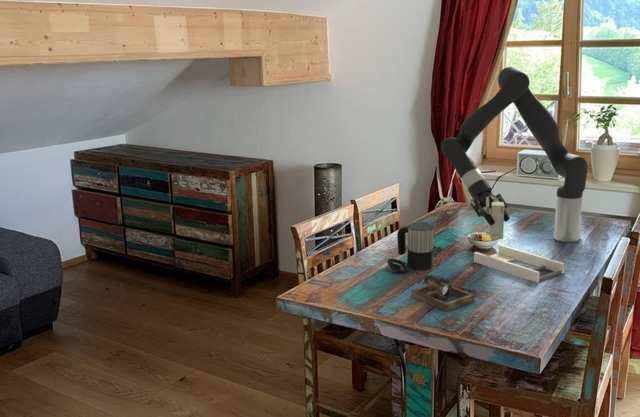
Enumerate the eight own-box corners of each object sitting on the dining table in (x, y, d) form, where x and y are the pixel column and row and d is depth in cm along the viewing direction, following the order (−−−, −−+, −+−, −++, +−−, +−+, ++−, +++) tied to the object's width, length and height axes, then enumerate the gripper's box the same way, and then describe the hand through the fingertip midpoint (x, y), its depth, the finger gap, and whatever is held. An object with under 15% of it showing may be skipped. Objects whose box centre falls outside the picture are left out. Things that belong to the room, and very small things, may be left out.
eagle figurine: (451, 289, 214) (423, 282, 216) (454, 276, 209) (425, 269, 211) (446, 309, 209) (418, 301, 212) (449, 296, 204) (420, 288, 206)
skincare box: (503, 239, 237) (504, 206, 234) (490, 239, 238) (491, 205, 235) (502, 234, 243) (503, 201, 240) (489, 234, 244) (491, 201, 241)
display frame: (438, 287, 219) (439, 281, 219) (474, 301, 207) (474, 294, 207) (411, 296, 213) (411, 290, 212) (446, 311, 201) (446, 304, 200)
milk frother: (436, 263, 242) (437, 223, 238) (423, 277, 228) (424, 235, 224) (398, 258, 248) (398, 219, 244) (383, 272, 234) (383, 231, 230)
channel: (499, 253, 250) (500, 244, 249) (563, 273, 228) (564, 263, 227) (473, 261, 242) (474, 252, 241) (537, 282, 220) (537, 272, 220)
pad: (497, 254, 249) (497, 253, 249) (514, 259, 242) (514, 258, 242) (476, 260, 243) (476, 259, 243) (494, 266, 236) (494, 265, 236)
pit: (543, 268, 233) (543, 265, 233) (560, 274, 227) (561, 270, 227) (522, 275, 227) (522, 272, 226) (540, 281, 221) (540, 278, 221)
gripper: (468, 181, 237) (493, 220, 231) (495, 175, 245) (520, 213, 239) (456, 193, 243) (480, 231, 236) (483, 187, 251) (507, 224, 244)
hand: (500, 222), depth 238 cm, fingers closed on skincare box, 7 cm apart
